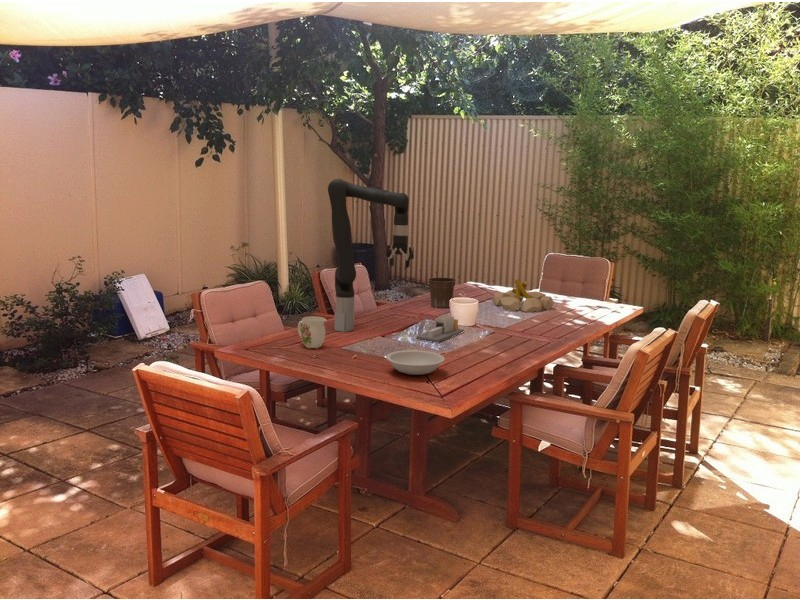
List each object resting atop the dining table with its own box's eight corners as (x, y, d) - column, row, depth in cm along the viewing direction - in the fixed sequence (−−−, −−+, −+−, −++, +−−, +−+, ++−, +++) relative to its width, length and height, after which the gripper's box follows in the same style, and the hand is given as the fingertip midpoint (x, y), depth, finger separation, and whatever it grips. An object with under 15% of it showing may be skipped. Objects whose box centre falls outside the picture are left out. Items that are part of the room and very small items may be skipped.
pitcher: (306, 341, 369) (307, 312, 367) (334, 347, 358) (334, 318, 355) (289, 344, 361) (289, 315, 358) (316, 352, 350) (317, 322, 347)
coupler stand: (438, 343, 373) (438, 329, 371) (416, 339, 378) (416, 326, 377) (463, 332, 396) (464, 319, 395) (442, 329, 402) (443, 316, 401)
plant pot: (423, 307, 458) (424, 280, 455) (432, 302, 473) (433, 276, 470) (449, 310, 452) (450, 282, 449) (458, 305, 467) (459, 278, 464)
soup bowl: (425, 362, 337) (426, 347, 336) (455, 377, 317) (455, 361, 315) (375, 368, 326) (376, 353, 325) (403, 384, 305) (403, 367, 304)
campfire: (484, 302, 479) (485, 275, 476) (534, 300, 490) (535, 274, 487) (509, 314, 447) (511, 284, 443) (562, 312, 457) (564, 283, 454)
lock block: (445, 333, 385) (445, 320, 384) (434, 332, 388) (434, 318, 387) (454, 330, 394) (454, 316, 392) (443, 328, 397) (443, 315, 395)
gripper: (384, 233, 384) (383, 266, 387) (409, 235, 377) (408, 269, 380) (392, 232, 390) (391, 264, 393) (417, 234, 383) (415, 267, 386)
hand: (399, 266), depth 387 cm, fingers open, 8 cm apart
